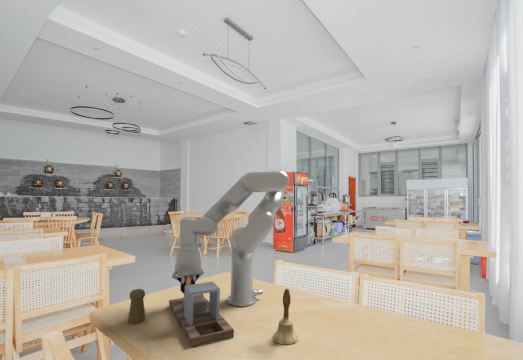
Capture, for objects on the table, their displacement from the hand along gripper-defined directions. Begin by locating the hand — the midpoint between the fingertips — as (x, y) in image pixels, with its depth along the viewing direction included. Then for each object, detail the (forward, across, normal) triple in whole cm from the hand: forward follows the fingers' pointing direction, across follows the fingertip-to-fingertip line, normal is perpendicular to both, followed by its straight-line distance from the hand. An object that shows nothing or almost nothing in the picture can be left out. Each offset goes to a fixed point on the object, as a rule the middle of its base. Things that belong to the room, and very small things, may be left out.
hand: (187, 291), depth 122 cm
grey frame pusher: (+3, 0, +6) cm, 7 cm away
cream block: (+3, 0, +11) cm, 11 cm away
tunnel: (+3, 0, +20) cm, 20 cm away
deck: (+6, 0, +15) cm, 16 cm away
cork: (+6, +20, +6) cm, 22 cm away
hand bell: (+6, -22, +41) cm, 47 cm away
